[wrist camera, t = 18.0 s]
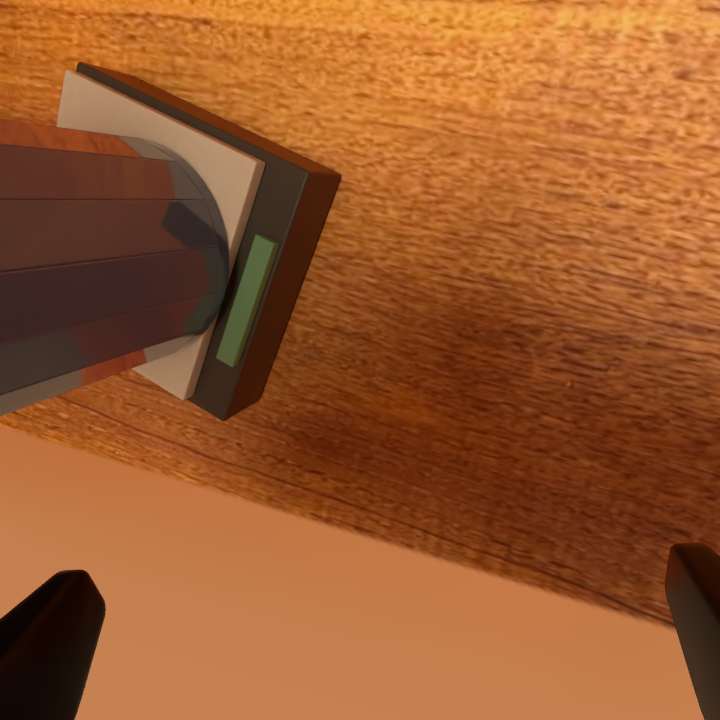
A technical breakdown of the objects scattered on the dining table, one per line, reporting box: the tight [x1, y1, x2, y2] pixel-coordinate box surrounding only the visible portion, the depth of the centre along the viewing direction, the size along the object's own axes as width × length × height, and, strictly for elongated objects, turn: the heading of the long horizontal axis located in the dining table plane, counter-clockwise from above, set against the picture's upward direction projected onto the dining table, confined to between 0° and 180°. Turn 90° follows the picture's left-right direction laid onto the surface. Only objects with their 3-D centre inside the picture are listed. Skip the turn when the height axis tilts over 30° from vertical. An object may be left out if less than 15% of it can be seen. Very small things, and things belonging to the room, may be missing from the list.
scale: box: [56, 62, 341, 421], centre depth 20 cm, size 9×9×3 cm
